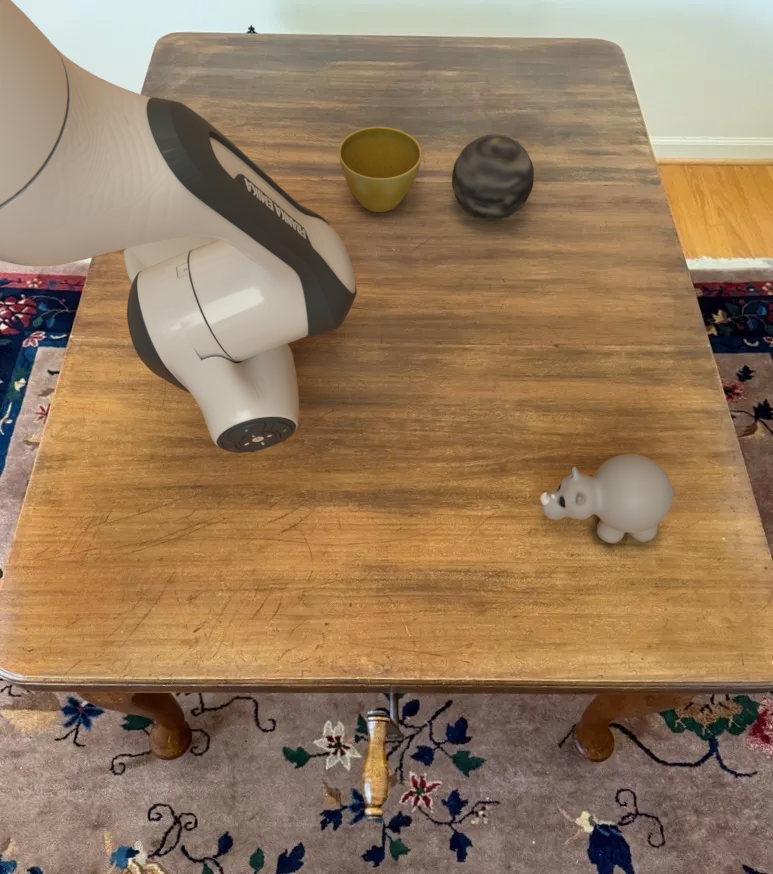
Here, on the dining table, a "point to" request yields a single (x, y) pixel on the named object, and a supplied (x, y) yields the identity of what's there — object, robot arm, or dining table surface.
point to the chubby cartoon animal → (615, 497)
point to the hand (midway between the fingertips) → (220, 210)
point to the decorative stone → (492, 177)
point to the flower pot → (379, 166)
